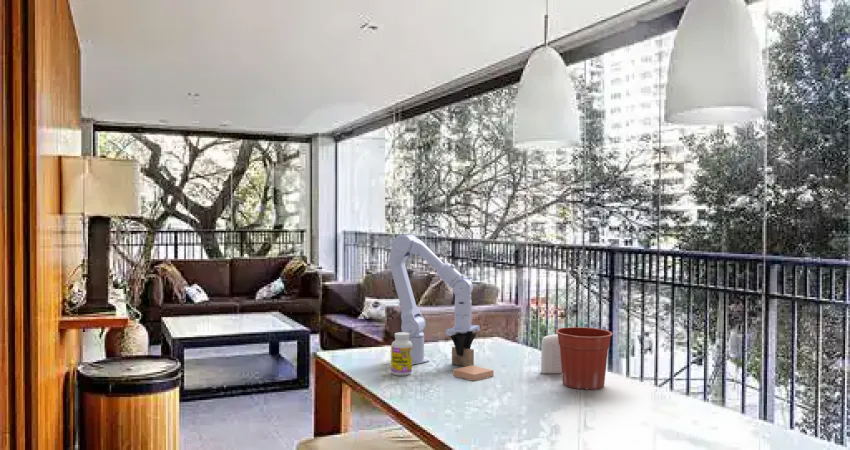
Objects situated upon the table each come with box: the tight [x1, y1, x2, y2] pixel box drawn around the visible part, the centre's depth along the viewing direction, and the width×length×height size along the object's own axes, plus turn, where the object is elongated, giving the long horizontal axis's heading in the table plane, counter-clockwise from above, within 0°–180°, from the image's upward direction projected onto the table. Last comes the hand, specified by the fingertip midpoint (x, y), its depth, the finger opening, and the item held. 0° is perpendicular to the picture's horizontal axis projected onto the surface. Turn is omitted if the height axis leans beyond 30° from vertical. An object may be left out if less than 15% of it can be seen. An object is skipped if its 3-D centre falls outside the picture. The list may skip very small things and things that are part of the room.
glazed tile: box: [452, 365, 495, 382], centre depth 207 cm, size 2×9×9 cm
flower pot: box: [555, 326, 613, 391], centre depth 196 cm, size 16×16×16 cm
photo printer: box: [540, 333, 562, 374], centre depth 212 cm, size 10×4×12 cm, turn 98°
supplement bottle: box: [390, 331, 413, 377], centre depth 209 cm, size 7×7×13 cm
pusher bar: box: [451, 346, 475, 367], centre depth 221 cm, size 8×2×6 cm, turn 42°
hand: (462, 354), depth 221 cm, fingers closed on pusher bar, 2 cm apart
